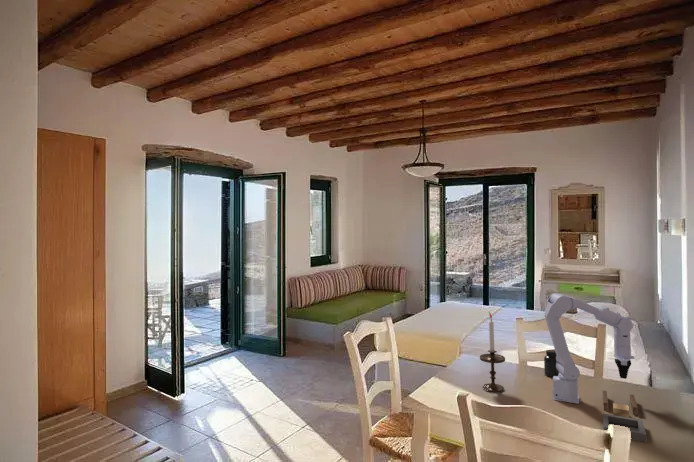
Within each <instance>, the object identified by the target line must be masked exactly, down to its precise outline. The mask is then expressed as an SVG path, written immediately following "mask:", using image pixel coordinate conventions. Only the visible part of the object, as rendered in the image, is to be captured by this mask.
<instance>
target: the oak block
mask: <svg viewBox="0 0 694 462" xmlns="http://www.w3.org/2000/svg"><path fill="white" fill-rule="evenodd" d="M612 412H613V414H612V415H615V416H621V417H627V418H630V407H629V405H626V404H621V403H614V402H612Z"/></svg>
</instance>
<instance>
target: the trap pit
mask: <svg viewBox="0 0 694 462" xmlns="http://www.w3.org/2000/svg"><path fill="white" fill-rule="evenodd" d="M602 423H603V431H604V430H607V429H608V425H609V424H614V425H620V426H625V427H628V428H630V431H631V438H632V439H631V440H633V439H634V441H638V440H640V441H639V442H644V441H646V442H645V443H647V440H648V439H647V433H646V428H645V424H644V421H643V420H642V419H638V418H632V417H629V418H627V417H621V416H615V415H613V414H609V413H608V414H607V413H602Z"/></svg>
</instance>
